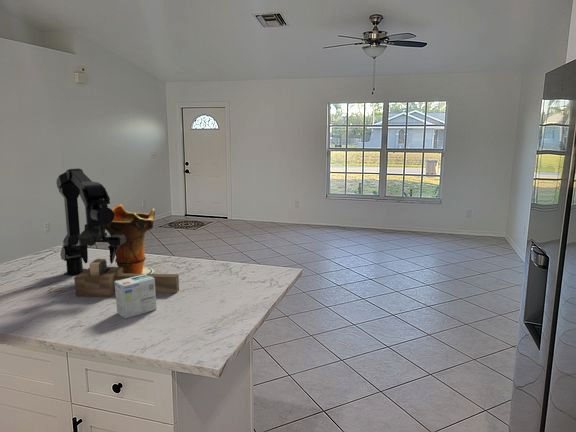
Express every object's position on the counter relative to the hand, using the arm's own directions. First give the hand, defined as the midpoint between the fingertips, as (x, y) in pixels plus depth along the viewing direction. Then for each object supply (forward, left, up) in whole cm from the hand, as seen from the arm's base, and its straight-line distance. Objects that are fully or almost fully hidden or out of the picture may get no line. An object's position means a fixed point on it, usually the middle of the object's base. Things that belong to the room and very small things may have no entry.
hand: (98, 263), depth 151 cm
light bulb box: (+18, +20, -10) cm, 29 cm away
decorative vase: (-20, +3, -10) cm, 23 cm away
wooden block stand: (0, +11, -10) cm, 15 cm away
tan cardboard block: (0, 0, -7) cm, 7 cm away
